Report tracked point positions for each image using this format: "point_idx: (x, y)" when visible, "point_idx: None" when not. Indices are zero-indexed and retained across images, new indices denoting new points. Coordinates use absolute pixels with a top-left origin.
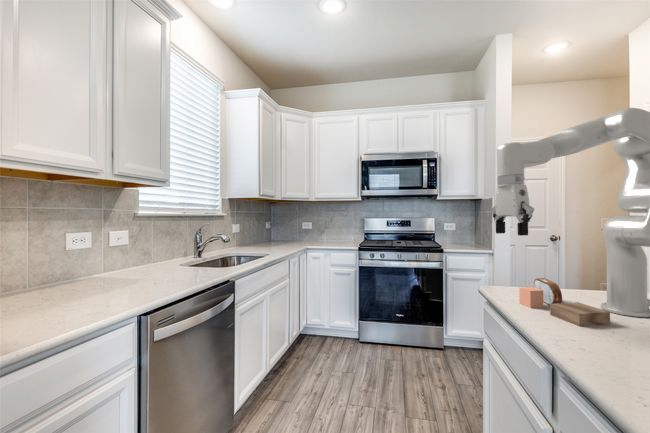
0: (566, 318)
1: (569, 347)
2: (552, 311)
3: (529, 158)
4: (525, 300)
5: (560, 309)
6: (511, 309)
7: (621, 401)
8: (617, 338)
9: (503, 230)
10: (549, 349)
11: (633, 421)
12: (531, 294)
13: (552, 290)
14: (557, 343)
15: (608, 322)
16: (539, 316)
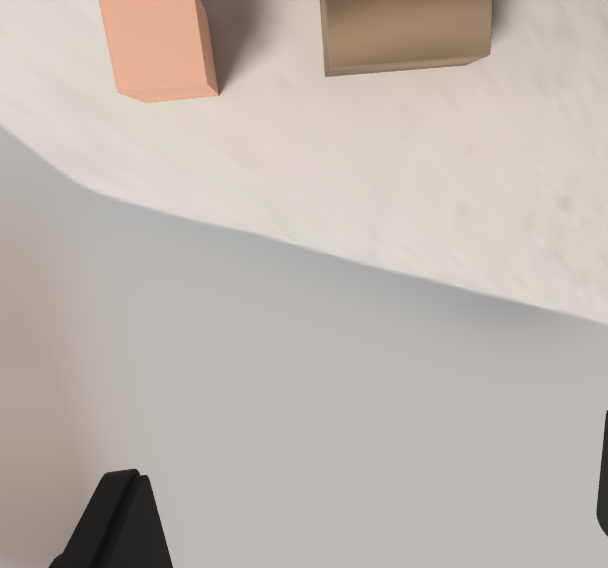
0: (410, 67)
1: (604, 256)
2: (339, 72)
3: None
4: (181, 95)
5: (388, 64)
6: (237, 203)
7: None
8: (590, 26)
9: (142, 535)
10: (599, 320)
11: None
12: (208, 78)
13: None
14: (573, 270)
15: None
16: (338, 142)
